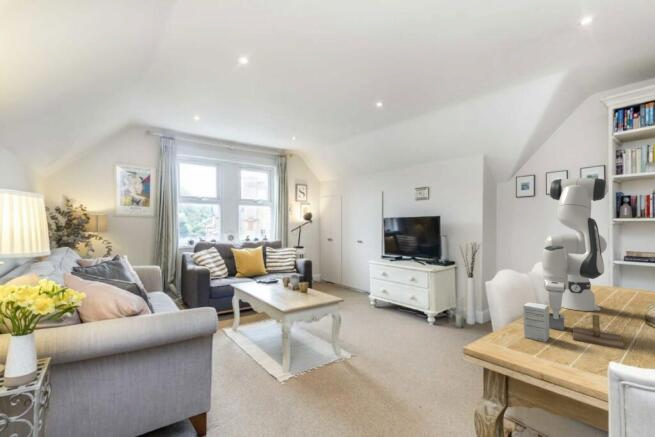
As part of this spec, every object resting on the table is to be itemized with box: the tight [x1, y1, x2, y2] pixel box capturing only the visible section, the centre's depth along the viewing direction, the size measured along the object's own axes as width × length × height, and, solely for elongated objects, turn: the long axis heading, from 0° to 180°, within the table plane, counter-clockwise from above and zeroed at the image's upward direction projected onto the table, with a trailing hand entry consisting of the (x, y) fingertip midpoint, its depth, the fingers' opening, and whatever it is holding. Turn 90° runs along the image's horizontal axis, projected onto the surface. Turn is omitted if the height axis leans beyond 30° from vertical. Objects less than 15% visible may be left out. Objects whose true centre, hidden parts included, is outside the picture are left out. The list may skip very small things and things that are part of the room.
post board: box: [572, 314, 625, 350], centre depth 116 cm, size 14×14×9 cm
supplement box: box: [522, 301, 551, 343], centre depth 119 cm, size 7×7×13 cm
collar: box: [549, 312, 565, 331], centre depth 130 cm, size 6×6×5 cm
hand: (556, 316), depth 129 cm, fingers open, 8 cm apart
